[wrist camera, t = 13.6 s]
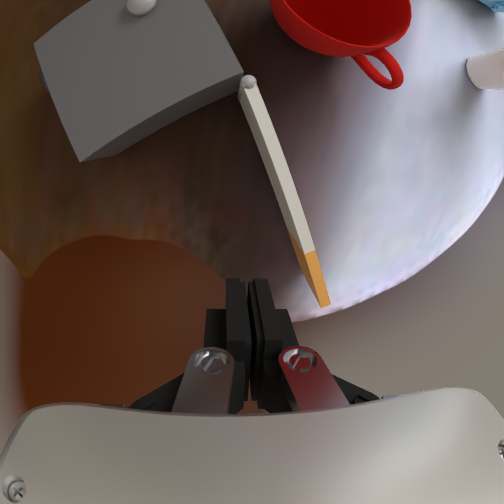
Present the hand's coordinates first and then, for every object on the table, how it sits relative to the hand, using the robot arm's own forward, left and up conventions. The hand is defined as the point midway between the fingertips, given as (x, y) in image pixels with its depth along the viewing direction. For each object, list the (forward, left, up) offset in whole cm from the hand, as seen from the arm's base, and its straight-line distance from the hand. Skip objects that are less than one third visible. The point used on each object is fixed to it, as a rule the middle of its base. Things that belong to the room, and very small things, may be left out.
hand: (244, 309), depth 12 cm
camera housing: (+2, -18, -21) cm, 28 cm away
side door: (-5, 0, -21) cm, 22 cm away
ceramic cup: (-18, -14, -22) cm, 31 cm away
